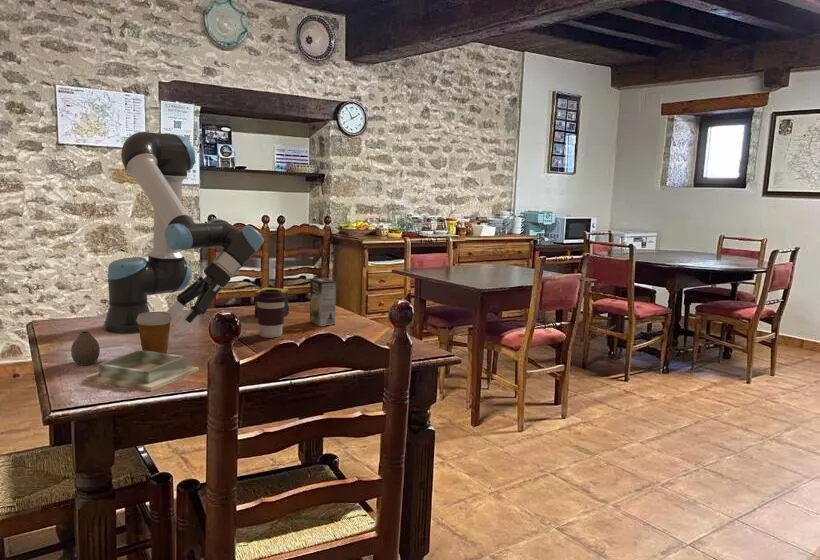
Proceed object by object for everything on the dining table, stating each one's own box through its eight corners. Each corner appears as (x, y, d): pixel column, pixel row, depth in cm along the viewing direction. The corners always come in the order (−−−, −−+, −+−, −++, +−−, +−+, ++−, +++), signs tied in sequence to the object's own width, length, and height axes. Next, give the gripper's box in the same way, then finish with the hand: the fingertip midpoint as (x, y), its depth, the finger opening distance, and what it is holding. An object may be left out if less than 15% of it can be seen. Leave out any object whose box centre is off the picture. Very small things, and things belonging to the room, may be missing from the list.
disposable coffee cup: (176, 357, 181) (175, 316, 179) (141, 361, 176) (140, 319, 174) (167, 349, 189) (166, 310, 187) (133, 353, 183) (132, 313, 182)
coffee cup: (278, 340, 204) (279, 294, 202) (250, 337, 206) (250, 292, 204) (290, 333, 214) (291, 289, 211) (263, 330, 216) (263, 287, 213)
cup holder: (85, 380, 159) (85, 364, 158) (137, 361, 176) (137, 347, 175) (151, 391, 153) (151, 375, 152) (198, 371, 170) (198, 356, 169)
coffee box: (308, 321, 232) (309, 278, 230) (324, 319, 236) (325, 277, 233) (320, 326, 225) (320, 282, 222) (336, 325, 228) (337, 280, 226)
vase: (81, 368, 168) (79, 336, 167) (66, 364, 172) (64, 332, 170) (105, 362, 174) (104, 331, 172) (90, 358, 177) (89, 327, 176)
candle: (264, 312, 245) (264, 287, 243) (289, 314, 243) (289, 288, 242) (254, 318, 235) (254, 291, 233) (280, 320, 233) (280, 293, 232)
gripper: (246, 284, 180) (194, 342, 174) (217, 272, 200) (169, 324, 194) (227, 267, 177) (173, 325, 170) (199, 256, 197) (150, 308, 190)
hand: (171, 325), depth 182 cm, fingers open, 13 cm apart
